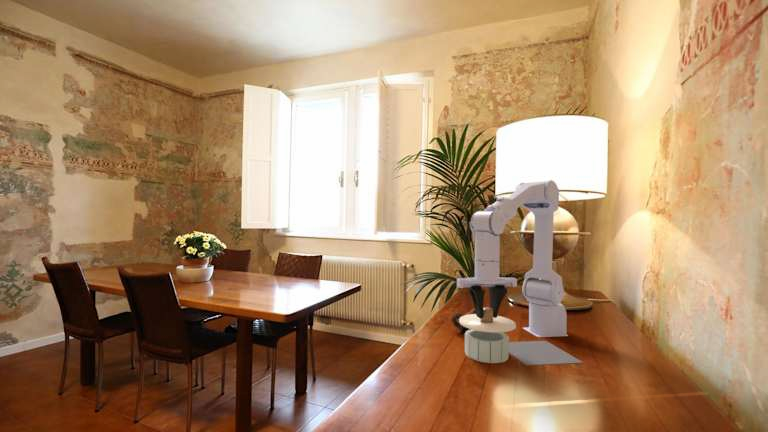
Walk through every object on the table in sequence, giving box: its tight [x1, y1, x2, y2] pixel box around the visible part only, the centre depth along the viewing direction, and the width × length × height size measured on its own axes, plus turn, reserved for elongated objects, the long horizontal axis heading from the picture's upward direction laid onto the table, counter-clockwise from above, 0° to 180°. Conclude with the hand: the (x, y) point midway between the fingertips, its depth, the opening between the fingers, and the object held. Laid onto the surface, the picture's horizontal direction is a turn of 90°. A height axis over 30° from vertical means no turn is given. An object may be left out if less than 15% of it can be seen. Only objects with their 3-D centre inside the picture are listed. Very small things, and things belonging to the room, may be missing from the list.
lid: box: [458, 306, 517, 333], centre depth 82 cm, size 13×13×4 cm
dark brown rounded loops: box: [450, 308, 476, 333], centre depth 97 cm, size 12×10×8 cm
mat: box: [509, 340, 584, 366], centre depth 83 cm, size 14×14×1 cm
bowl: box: [464, 329, 510, 364], centre depth 82 cm, size 10×10×5 cm
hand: (486, 316), depth 82 cm, fingers closed on lid, 3 cm apart
